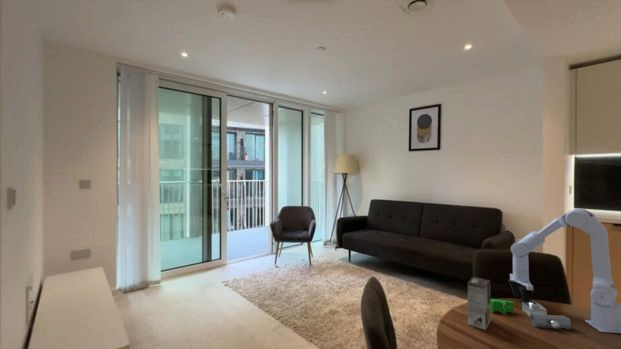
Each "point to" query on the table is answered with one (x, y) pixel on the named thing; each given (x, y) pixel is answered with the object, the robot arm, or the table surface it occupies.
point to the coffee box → (479, 302)
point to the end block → (550, 321)
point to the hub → (533, 308)
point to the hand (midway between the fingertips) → (521, 300)
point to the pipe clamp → (501, 306)
